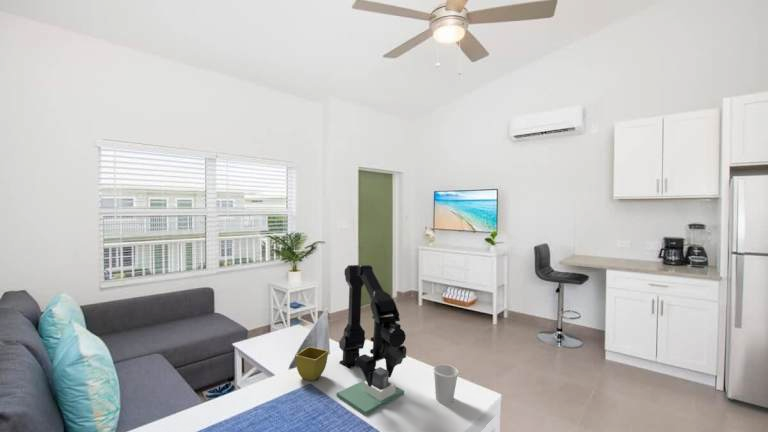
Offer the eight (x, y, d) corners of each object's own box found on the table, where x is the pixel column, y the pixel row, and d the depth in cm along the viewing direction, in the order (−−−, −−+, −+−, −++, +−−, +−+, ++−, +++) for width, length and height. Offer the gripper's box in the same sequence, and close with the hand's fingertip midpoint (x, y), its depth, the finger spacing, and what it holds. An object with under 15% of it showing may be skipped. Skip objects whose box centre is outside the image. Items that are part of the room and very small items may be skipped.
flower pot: (293, 379, 123) (294, 354, 123) (307, 369, 131) (309, 346, 131) (314, 385, 120) (315, 360, 120) (327, 374, 128) (328, 350, 128)
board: (336, 396, 114) (336, 383, 114) (375, 378, 127) (375, 367, 127) (365, 415, 104) (366, 402, 104) (403, 394, 117) (404, 382, 117)
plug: (370, 391, 115) (372, 370, 115) (379, 387, 118) (380, 366, 118) (380, 396, 112) (381, 375, 112) (388, 392, 115) (389, 371, 115)
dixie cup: (429, 402, 113) (430, 372, 113) (434, 390, 121) (436, 362, 121) (454, 409, 110) (456, 378, 110) (458, 396, 118) (460, 367, 117)
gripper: (379, 351, 103) (377, 402, 103) (418, 336, 116) (415, 381, 117) (354, 339, 110) (352, 387, 111) (393, 326, 124) (391, 369, 124)
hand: (379, 381), depth 115 cm, fingers open, 9 cm apart
